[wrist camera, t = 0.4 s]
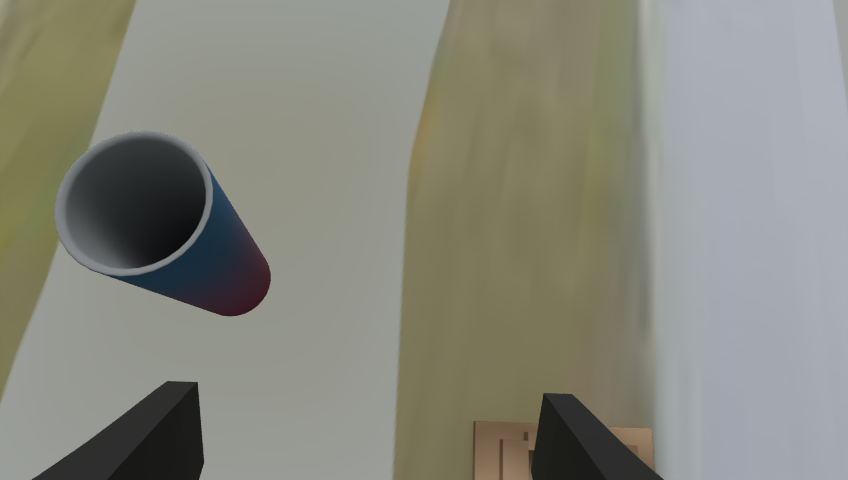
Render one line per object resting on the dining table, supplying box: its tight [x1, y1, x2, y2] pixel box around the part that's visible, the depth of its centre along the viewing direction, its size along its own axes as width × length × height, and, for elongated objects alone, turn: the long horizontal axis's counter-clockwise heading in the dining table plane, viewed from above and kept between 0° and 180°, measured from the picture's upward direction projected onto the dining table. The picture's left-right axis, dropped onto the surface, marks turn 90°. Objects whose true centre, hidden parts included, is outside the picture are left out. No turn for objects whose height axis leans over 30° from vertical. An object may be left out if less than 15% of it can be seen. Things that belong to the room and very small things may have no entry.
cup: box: [54, 131, 271, 316], centre depth 33 cm, size 7×7×15 cm
